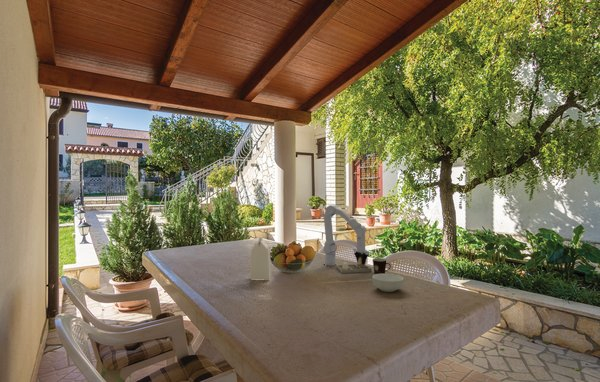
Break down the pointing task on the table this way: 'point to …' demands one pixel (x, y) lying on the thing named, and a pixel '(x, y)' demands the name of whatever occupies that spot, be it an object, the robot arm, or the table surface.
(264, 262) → the milk
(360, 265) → the brown egg
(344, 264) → the cream egg
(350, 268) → the egg carton
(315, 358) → the table surface
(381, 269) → the coffee mug
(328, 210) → the robot arm
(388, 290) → the cereal bowl
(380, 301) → the table surface
